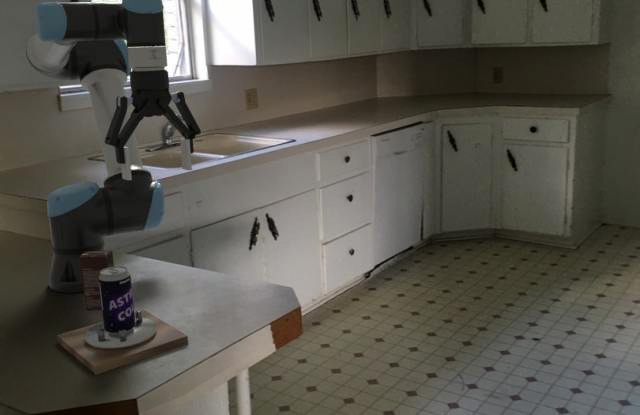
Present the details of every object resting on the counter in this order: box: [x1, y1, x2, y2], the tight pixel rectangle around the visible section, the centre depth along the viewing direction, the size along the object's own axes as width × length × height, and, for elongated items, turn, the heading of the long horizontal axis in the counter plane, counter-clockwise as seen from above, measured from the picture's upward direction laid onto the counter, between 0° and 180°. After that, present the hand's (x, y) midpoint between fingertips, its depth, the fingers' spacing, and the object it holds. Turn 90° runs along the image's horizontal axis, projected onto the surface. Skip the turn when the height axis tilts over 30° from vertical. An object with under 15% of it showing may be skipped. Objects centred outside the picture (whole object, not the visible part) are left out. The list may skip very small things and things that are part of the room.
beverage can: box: [99, 265, 135, 335], centre depth 127 cm, size 6×6×12 cm
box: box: [79, 249, 115, 310], centre depth 146 cm, size 6×4×12 cm
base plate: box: [56, 309, 189, 376], centre depth 129 cm, size 18×18×2 cm
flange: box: [85, 310, 157, 351], centre depth 128 cm, size 13×13×3 cm
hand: (158, 174), depth 140 cm, fingers open, 13 cm apart
